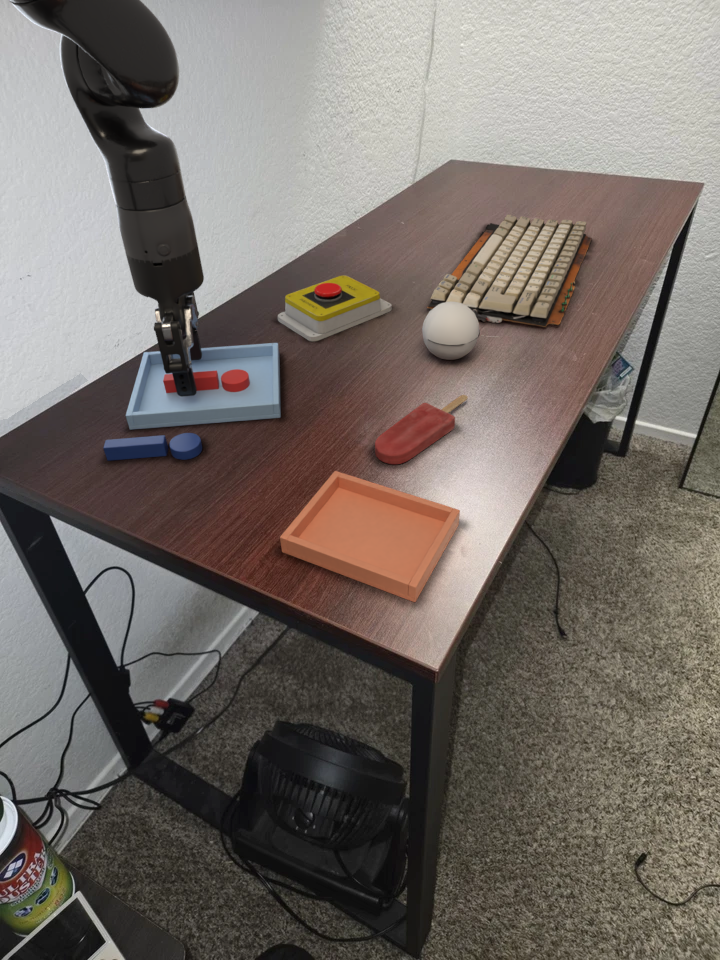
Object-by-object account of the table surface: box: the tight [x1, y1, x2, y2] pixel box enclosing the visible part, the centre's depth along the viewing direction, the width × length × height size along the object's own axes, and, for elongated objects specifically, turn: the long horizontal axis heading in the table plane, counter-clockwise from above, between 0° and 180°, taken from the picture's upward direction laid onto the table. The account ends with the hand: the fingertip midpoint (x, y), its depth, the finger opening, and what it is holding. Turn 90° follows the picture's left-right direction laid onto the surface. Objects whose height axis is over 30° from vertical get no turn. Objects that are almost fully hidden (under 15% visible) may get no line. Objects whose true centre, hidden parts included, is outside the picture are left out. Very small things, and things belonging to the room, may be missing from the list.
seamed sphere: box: [421, 302, 501, 361], centre depth 84 cm, size 10×7×7 cm
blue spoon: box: [102, 432, 203, 462], centre depth 72 cm, size 10×3×2 cm, turn 96°
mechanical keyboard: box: [426, 213, 593, 328], centre depth 105 cm, size 38×19×3 cm, turn 158°
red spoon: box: [163, 369, 250, 393], centre depth 81 cm, size 10×3×2 cm, turn 96°
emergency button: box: [277, 274, 393, 342], centre depth 95 cm, size 9×4×15 cm
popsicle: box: [374, 394, 469, 465], centre depth 74 cm, size 4×2×15 cm
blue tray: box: [125, 342, 282, 431], centre depth 81 cm, size 17×14×2 cm
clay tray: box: [279, 470, 461, 603], centre depth 61 cm, size 13×10×2 cm
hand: (190, 376), depth 80 cm, fingers open, 7 cm apart
